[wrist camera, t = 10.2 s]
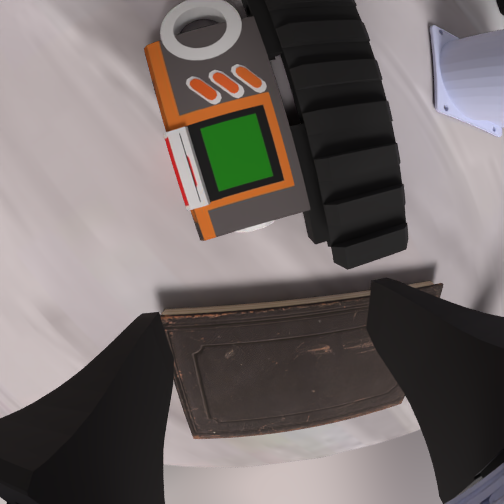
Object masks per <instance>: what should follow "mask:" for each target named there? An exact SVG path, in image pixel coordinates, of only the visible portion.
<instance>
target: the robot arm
mask: <svg viewBox="0 0 504 504" xmlns="http://www.w3.org/2000/svg"><path fill="white" fill-rule="evenodd" d="M439 32H440V33H439ZM430 35H431V43H432V53H433V66H434V88H435V108H436V110H437V111H438V112H439V113H442V114H445V115H447V116H450V117H453V118H455V119H458V120H460V121H463V122H465V123H468V124H470V125H472V126H475V127H477V128H479V129H482V130H484V131H486V132H488V133H490V134H492V135H495V136H497V137H501V135H502V128H504V29H503V30H497V31H492V32H487V33H483V34H478V35H474V36H470V37H466V38H462V39H460V38H458V37H456V36H455V35H453V34H451V33H449V32H447V31H445V30H443V29H442V28H440V27H438V26H436V25H432V26H430ZM444 106H445V109H444ZM366 329H367V332H368V334H369V336H370V338H371V340H372V343H373V345H374V347H375V349H376V351H377V352H378V354H379V355H380V357H381V358H382V360H383V362H384V363H385V365H386V366H387V368H388V369H389V371H390V372H391V374H392V375H393V377H394V378H395V380H396V381H397V383H398V385H399V386H400V388H401V389H402V391H403V392H404V394H405V396H406V398H407V399H408V401H409V403H410V405H411V407H412V409H413V411H414V414H415V416H416V418H417V420H418V423H419V425H420V428H421V430H422V433H423V436H424V438H425V441H426V444H427V447H428V450H429V453H430V456H431V460H432V463H433V467H434V471H435V476H436V480H437V485H438V490H439V497H440V499H441V501H442V502H443V504H479V503H480V504H504V317H500V316H495V315H491V314H487V313H483V312H480V311H476V310H472V309H469V308H466V307H463V306H460V305H457V304H454V303H451V302H449V301H446V300H443V299H441V298H438V297H436V296H433V295H431V294H428V293H426V292H423V291H421V290H419V289H416V288H414V287H411V286H409V285H406V284H404V283H401V282H398V281H395V280H392V279H389V278H383V279H378V280H373V281H371V291H370V300H369V309H368V317H367V325H366ZM173 377H174V357H173V354H172V351H171V348H170V345H169V342H168V339H167V336H166V333H165V330H164V327H163V324H162V321H161V317H160V314H159V312H154V313H143V314H141V315H140V316H138V317H137V318H136V319H135V320H134V321H133V322H132V323H131V324H130V325H129V326H128V327H127V328H126V329H125V330H124V331H123V332H122V333H121V334H120V335H119V336H118V337H117V338H116V339H115V340H114V341H112V342H111V343H110V344H109V345H108V346H107V347H106V348H105V349H104V350H103V351H102V352H101V353H100V354H99V355H98V356H96V357H95V358H94V359H93V360H92V361H91V362H90V363H89V364H88V365H87V366H85V367H84V368H83V369H82V370H81V371H79V372H78V373H77V374H76V375H74V376H73V377H72V378H70V379H69V380H68V381H66V382H65V383H64V384H62V385H61V386H60V387H58V388H57V389H55V390H53V391H52V392H50V393H49V394H47V395H45V396H44V397H42V398H41V399H39V400H37V401H36V402H34V403H32V404H30V405H28V406H26V407H24V408H23V409H21V410H18V411H16V412H14V413H12V414H10V415H7V416H5V417H3V418H0V497H1V498H2V499H4V500H5V501H6V502H7V504H165V500H164V482H163V481H164V480H163V448H164V437H165V431H166V425H167V418H168V412H169V406H170V400H171V394H172V388H173Z"/></svg>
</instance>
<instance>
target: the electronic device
mask: <svg viewBox="0 0 504 504" xmlns="http://www.w3.org/2000/svg"><path fill="white" fill-rule="evenodd" d="M200 19H209V20H213V21H216V22H218V24H214V25H209V26H206V27H202V28H198V29H195V30H191V31H188V32H184V33H181V34H179V33H180V32H181V30H182V29H183V28H184V27H185V26H186V25H187V24H189V23H191V22H193V21H196V20H200ZM160 35H161V40H160V41H157V42H154V43H152V44H149V45H147V46H146V47H145V48H144V51H145V55H146V59H147V63H148V67H149V71H150V75H151V78H152V82H153V86H154V90H155V94H156V97H157V101H158V105H159V108H160V112H161V115H162V119H163V122H164V126H165V129H166V133H165V134H164V138H165V141H166V145H167V148H168V151H169V155H170V158H171V161H172V164H173V168H174V171H175V174H176V177H177V181H178V184H179V187H180V190H181V193H182V196H183V199H184V202H185V206H186V209H187V210H191V214H192V217H193V220H194V223H195V226H196V229H197V232H198V234H199V237H200V240H202V241H205V240H208V239H211V238H215V237H218V236H221V235H225V234H228V233H231V232H237V233H240V232H251V231H254V230H258V229H261V228H264V227H266V226H268V225H270V224H272V223H273V222H274V221H275V220H276V219H280V218H283V217H287V216H290V215H294V214H297V213H301V212H304V211H308V210H311V209H310V204H309V200H308V196H307V192H306V187H305V183H304V179H303V175H302V171H301V167H300V163H299V159H298V156H297V152H296V148H295V144H294V141H293V137H292V133H291V130H290V126H289V123H288V119H287V116H286V112H285V109H284V106H283V102H282V99H281V96H280V92H279V89H278V86H277V83H276V79H275V76H274V73H273V70H272V67H271V64H270V61H269V58H268V55H267V52H266V49H265V46H264V43H263V41H262V38H261V35H260V32H259V29H258V27H257V24H256V21H255V18H254V16H252V17H247V18H240V15H239V13H238V12H237V10H236V9H235V8H234V7H233V6H232V5H230V4H229V3H227V2H225V1H223V0H187V1H184V2H182V3H180V4H178V5H177V6H175V7H174V8H173V9H172V10H171V11H170V12H169V13H168V14H167V15H166V17H165V18H164V20H163V22H162V25H161V30H160Z"/></svg>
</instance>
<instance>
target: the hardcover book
mask: <svg viewBox="0 0 504 504" xmlns="http://www.w3.org/2000/svg"><path fill="white" fill-rule="evenodd" d="M408 285H409V286H411V287H414V288H416V289H419V290H421V291H423V292H426V293H428V294H431V295H433V296H436V297H438V298H440V295H441V292H442V288H443V284H442V283H439V284H433V283H432V282H431V281H426V282H420V283H414V284H408ZM370 291H371V290H368V291H361V292H353V293H345V294H338V295H329V296H321V297H312V298H303V299H294V300H284V301H274V302H263V303H251V304H239V305H226V306H212V307H196V308H178V309H164V312H162V315H160V317H161V321H162V324H163V327H164V330H165V333H166V336H167V339H168V342H169V345H170V348H171V351H172V354H173V357H174V377H173V379H174V382H175V386H176V389H177V392H178V395H179V398H180V401H181V404H182V407H183V410H184V413H185V416H186V419H187V422H188V425H189V428H190V430H191V433H192V436H193V438H194V439H212V438H231V437H244V436H255V435H264V434H272V433H280V432H287V431H293V430H299V429H305V428H310V427H315V426H320V425H325V424H330V423H334V422H339V421H343V420H347V419H351V418H355V417H359V416H362V415H366V414H369V413H373V412H376V411H380V410H383V409H386V408H389V407H392V406H395V405H398V404H401V403H402V401H403V399H404V396H405V394H404V392H403V391H402V389H401V388H400V386H399V385H398V383H397V381H396V380H395V378H394V377H393V375H392V374H391V372H390V371H389V369H388V368H387V366H386V365H385V363H384V362H383V360H382V358H381V357H380V355H379V354H378V352H377V351H376V349H375V347H374V345H373V343H372V340H371V338H370V336H369V334H368V332H367V329H366V325H367V317H368V309H369V300H370Z"/></svg>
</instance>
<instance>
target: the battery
mask: <svg viewBox="0 0 504 504" xmlns="http://www.w3.org/2000/svg"><path fill="white" fill-rule="evenodd" d="M497 2H498V5H499V8H500V11H501V13H502V14H503V15H504V0H497Z"/></svg>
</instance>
